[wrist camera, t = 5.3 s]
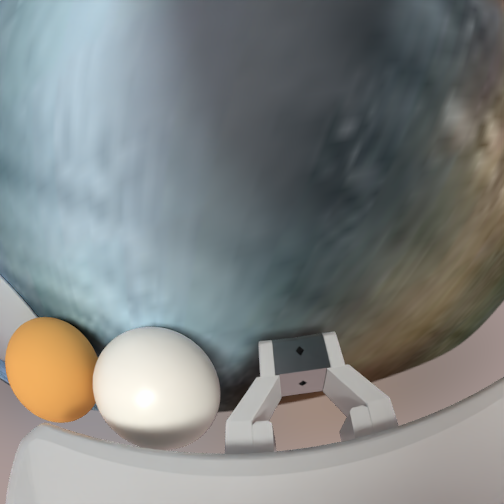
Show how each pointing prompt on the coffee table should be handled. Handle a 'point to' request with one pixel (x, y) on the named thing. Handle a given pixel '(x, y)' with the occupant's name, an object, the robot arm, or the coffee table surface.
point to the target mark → (11, 314)
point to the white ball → (156, 388)
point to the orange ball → (51, 369)
